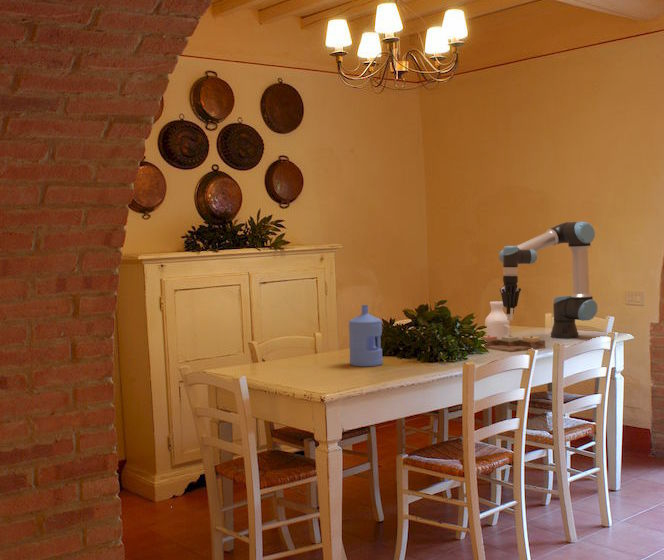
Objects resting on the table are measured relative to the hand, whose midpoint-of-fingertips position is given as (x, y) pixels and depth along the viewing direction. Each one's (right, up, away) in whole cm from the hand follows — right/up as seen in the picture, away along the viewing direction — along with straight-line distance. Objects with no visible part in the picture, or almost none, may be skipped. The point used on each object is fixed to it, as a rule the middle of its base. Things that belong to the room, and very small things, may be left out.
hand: (510, 320), depth 445 cm
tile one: (0, -11, 0) cm, 11 cm away
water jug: (-77, -19, -44) cm, 91 cm away
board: (0, -14, 0) cm, 14 cm away
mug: (+1, -13, +28) cm, 31 cm away
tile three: (+10, -11, -4) cm, 16 cm away
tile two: (-10, -11, +4) cm, 16 cm away
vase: (+2, -12, +46) cm, 48 cm away
